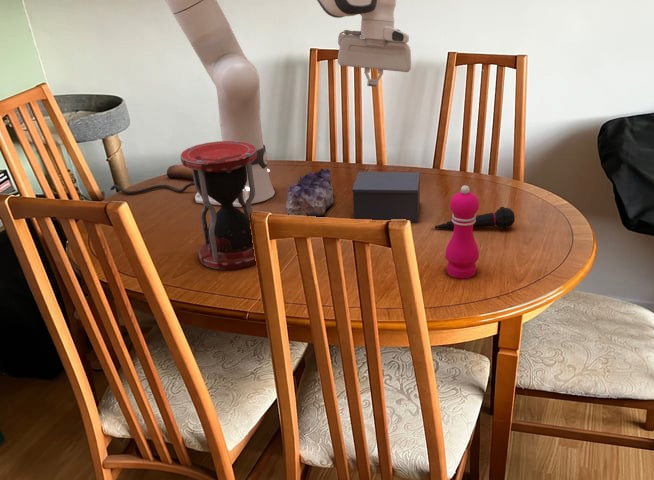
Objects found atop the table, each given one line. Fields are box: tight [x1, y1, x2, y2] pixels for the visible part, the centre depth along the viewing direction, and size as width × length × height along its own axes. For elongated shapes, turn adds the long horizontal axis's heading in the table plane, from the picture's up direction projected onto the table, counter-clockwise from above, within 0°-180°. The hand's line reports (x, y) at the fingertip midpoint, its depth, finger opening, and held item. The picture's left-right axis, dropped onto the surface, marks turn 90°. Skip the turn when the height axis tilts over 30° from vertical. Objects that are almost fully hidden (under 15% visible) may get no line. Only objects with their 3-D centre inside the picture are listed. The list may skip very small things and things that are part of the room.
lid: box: [351, 171, 421, 193], centre depth 162 cm, size 13×17×1 cm
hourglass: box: [179, 140, 257, 271], centre depth 140 cm, size 16×16×25 cm
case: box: [352, 176, 421, 223], centre depth 164 cm, size 13×17×8 cm
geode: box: [285, 168, 335, 217], centre depth 169 cm, size 20×12×10 cm, turn 169°
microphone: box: [434, 206, 516, 231], centre depth 155 cm, size 6×6×20 cm
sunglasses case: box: [166, 163, 194, 180], centre depth 192 cm, size 18×7×7 cm, turn 69°
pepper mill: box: [444, 184, 480, 279], centre depth 131 cm, size 7×7×20 cm
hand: (372, 86), depth 172 cm, fingers closed
